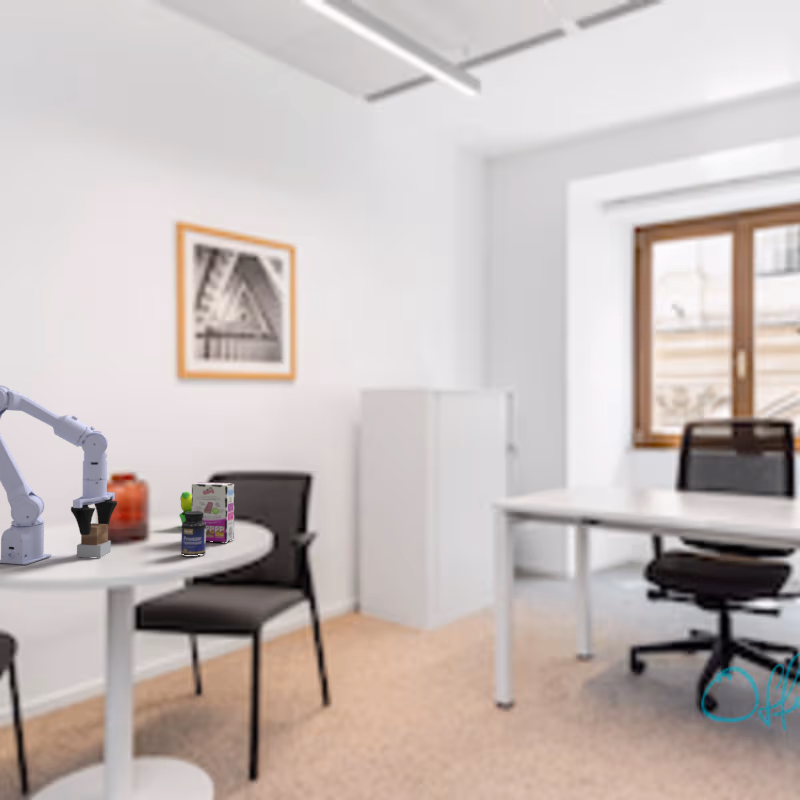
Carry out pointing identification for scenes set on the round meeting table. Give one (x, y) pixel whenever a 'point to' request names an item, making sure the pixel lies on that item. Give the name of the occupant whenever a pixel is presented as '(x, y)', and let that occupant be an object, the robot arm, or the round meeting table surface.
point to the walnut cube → (96, 535)
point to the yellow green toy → (185, 504)
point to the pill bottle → (193, 534)
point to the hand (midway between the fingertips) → (94, 531)
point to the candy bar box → (215, 509)
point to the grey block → (93, 550)
